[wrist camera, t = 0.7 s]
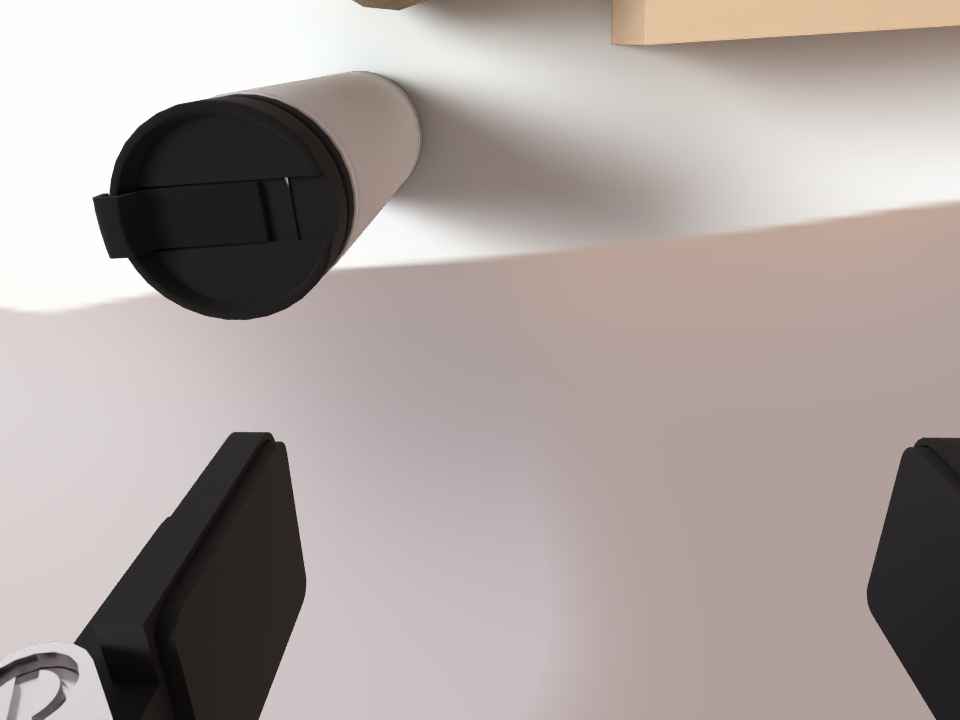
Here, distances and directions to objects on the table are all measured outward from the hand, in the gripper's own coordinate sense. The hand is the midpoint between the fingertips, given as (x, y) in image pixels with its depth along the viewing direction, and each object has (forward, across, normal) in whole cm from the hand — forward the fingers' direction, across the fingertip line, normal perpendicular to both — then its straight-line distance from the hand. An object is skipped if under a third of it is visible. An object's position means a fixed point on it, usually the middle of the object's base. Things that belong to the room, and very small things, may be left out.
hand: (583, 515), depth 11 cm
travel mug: (+30, +9, -2) cm, 31 cm away
